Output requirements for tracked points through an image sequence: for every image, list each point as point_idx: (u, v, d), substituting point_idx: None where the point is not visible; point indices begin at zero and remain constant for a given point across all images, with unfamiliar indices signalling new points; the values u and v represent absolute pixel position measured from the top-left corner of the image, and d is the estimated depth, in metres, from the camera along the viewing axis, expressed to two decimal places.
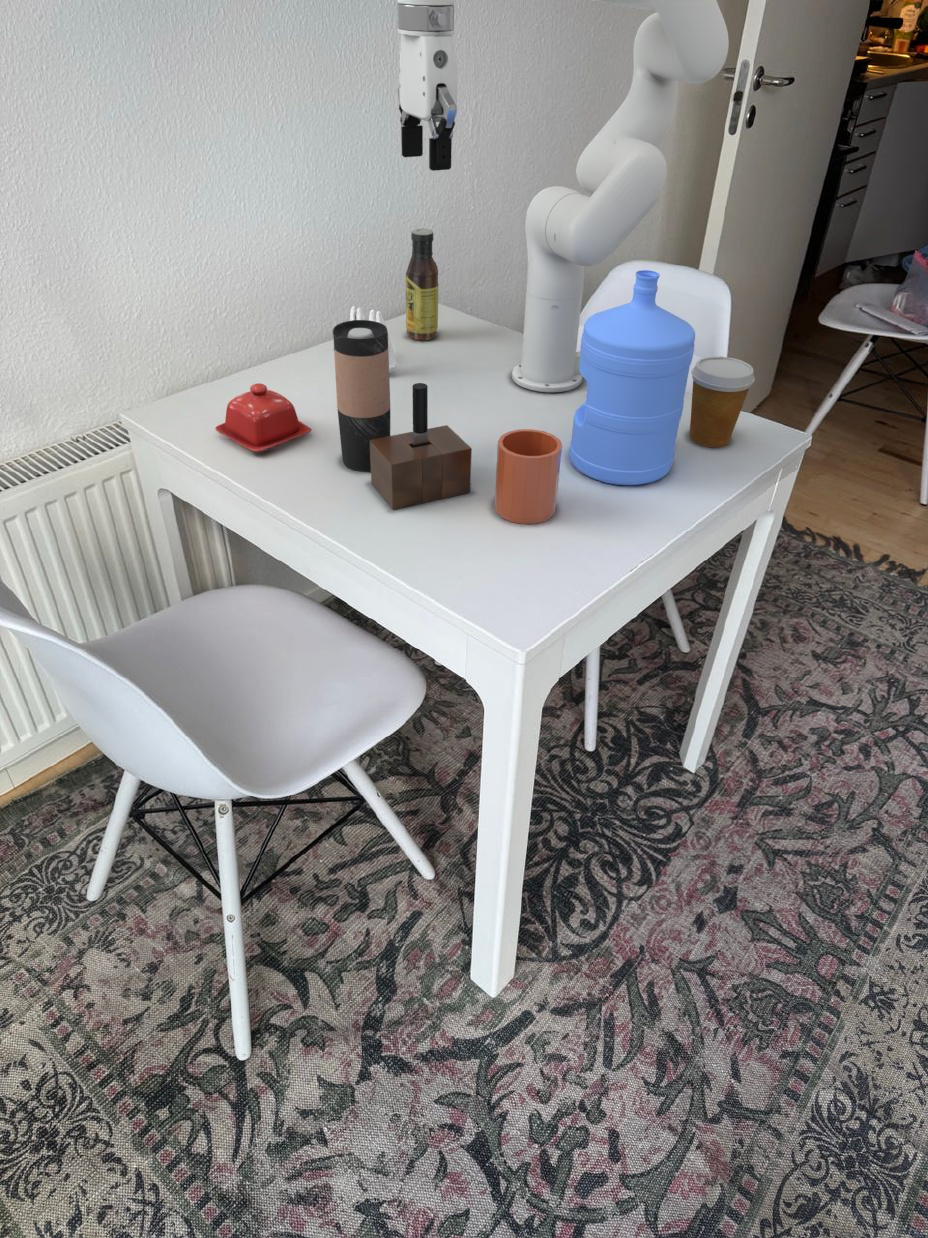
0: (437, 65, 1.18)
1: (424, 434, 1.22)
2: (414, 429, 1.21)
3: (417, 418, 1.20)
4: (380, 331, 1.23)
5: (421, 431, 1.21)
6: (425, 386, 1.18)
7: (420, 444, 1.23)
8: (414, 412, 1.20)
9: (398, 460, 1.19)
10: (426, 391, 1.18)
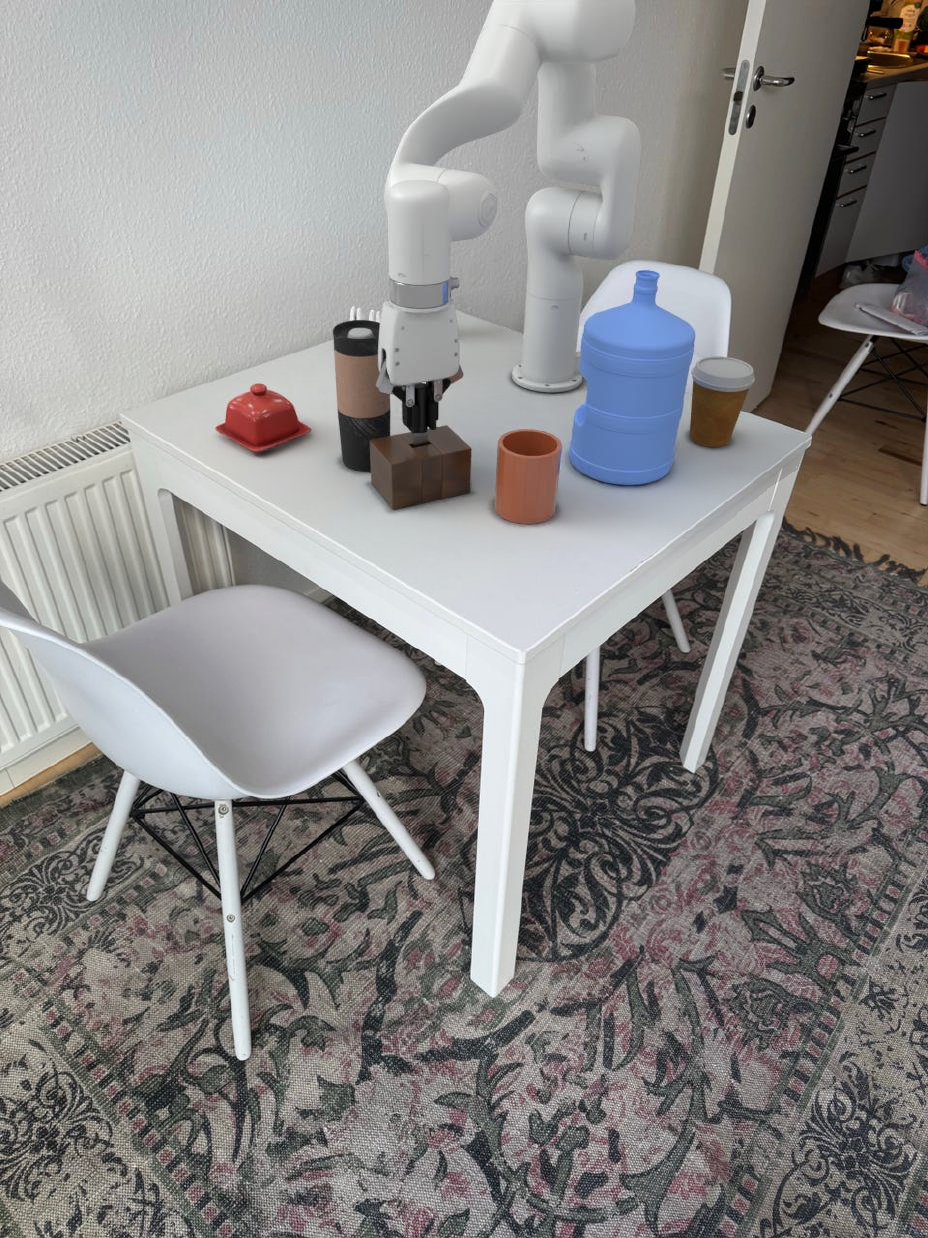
0: None
1: (424, 434, 1.22)
2: None
3: None
4: None
5: (421, 431, 1.21)
6: (425, 386, 1.18)
7: (420, 444, 1.23)
8: None
9: (398, 460, 1.19)
10: (426, 391, 1.18)
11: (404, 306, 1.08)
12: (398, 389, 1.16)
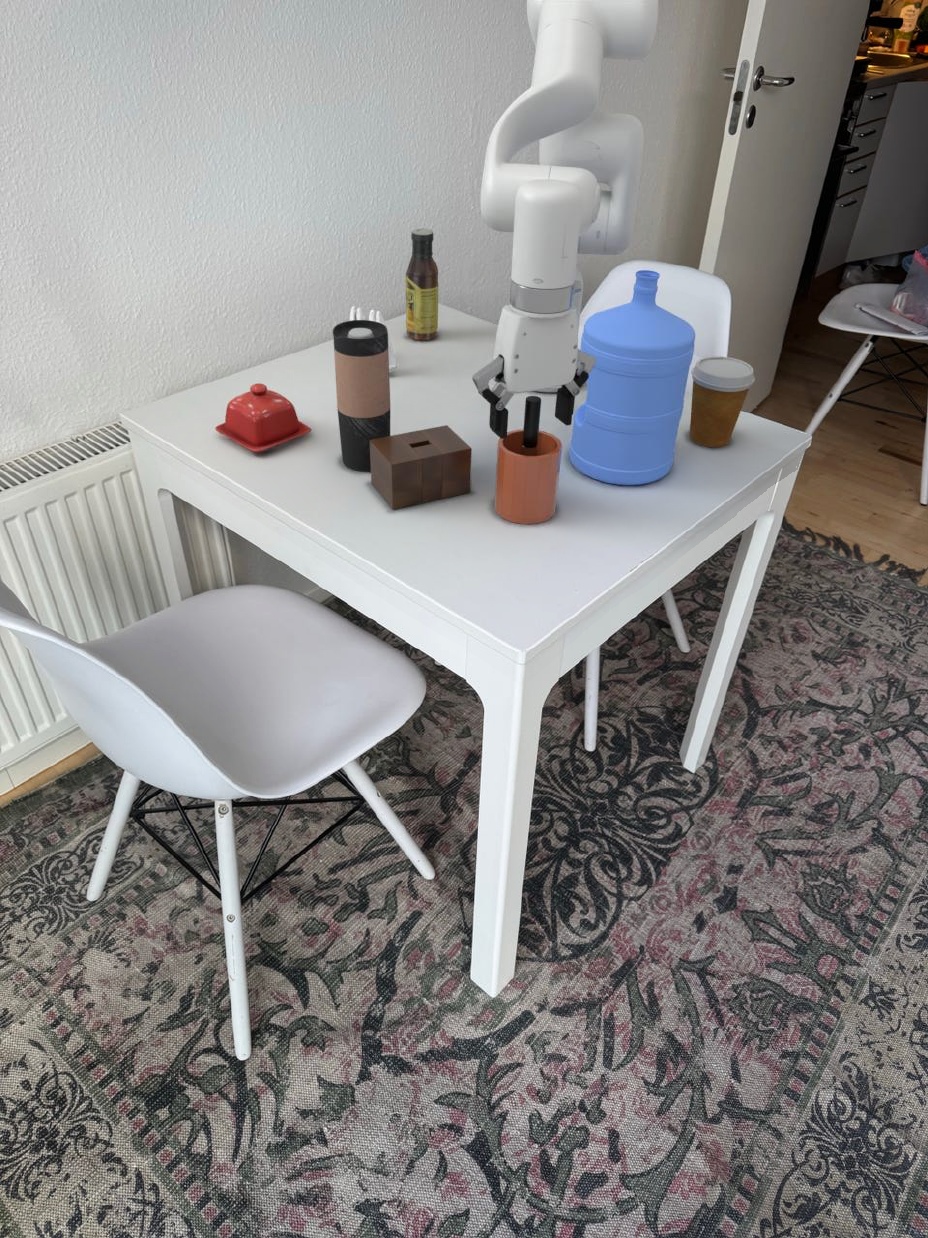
0: None
1: (533, 448, 1.18)
2: (524, 443, 1.17)
3: (529, 432, 1.16)
4: (380, 331, 1.23)
5: (532, 445, 1.17)
6: (539, 399, 1.14)
7: None
8: (526, 426, 1.15)
9: (398, 460, 1.19)
10: (540, 404, 1.14)
11: (528, 311, 1.04)
12: (489, 392, 1.09)
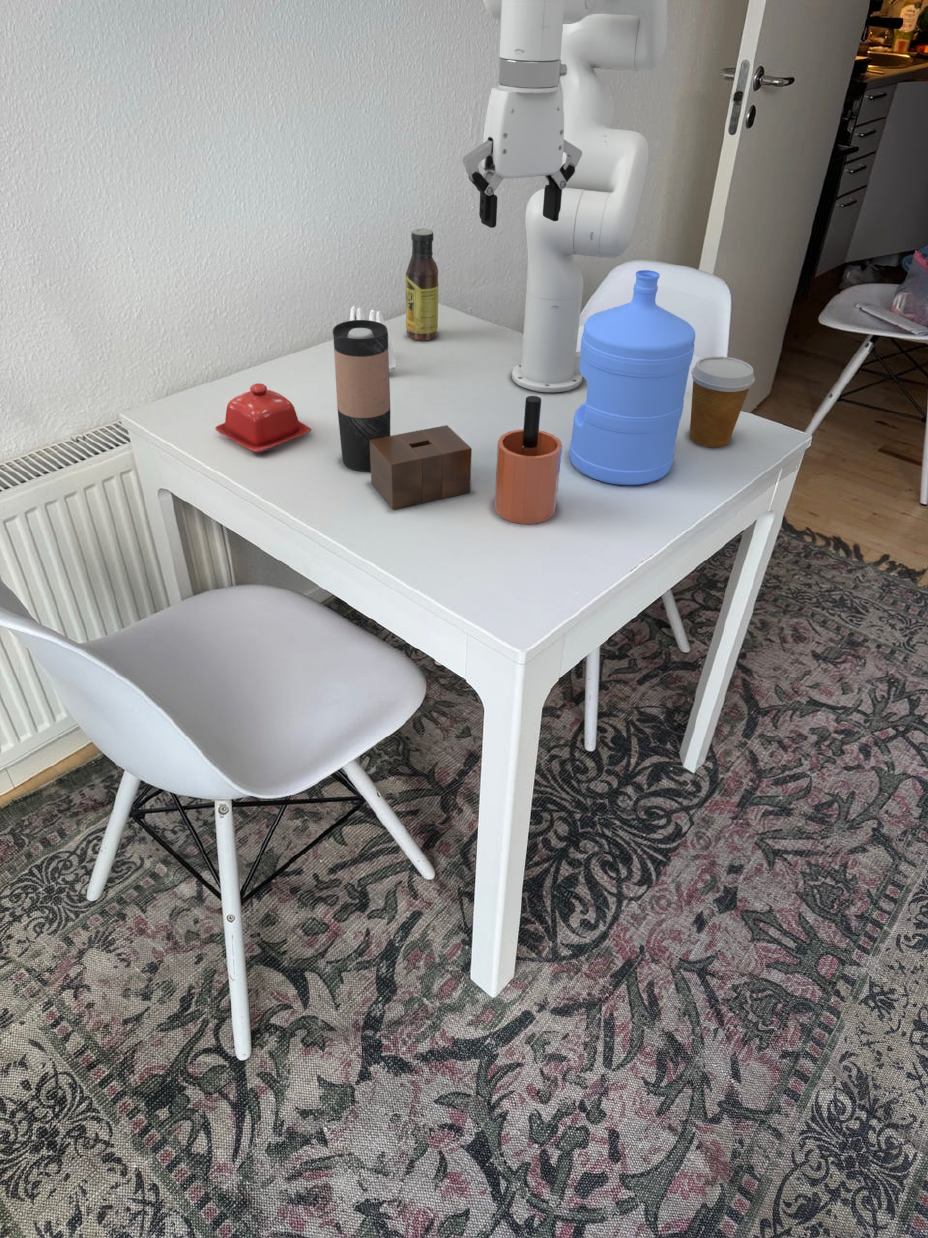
0: None
1: (533, 448, 1.18)
2: (524, 443, 1.17)
3: (529, 432, 1.16)
4: (380, 331, 1.23)
5: (532, 445, 1.17)
6: (539, 399, 1.14)
7: None
8: (526, 426, 1.15)
9: (398, 460, 1.19)
10: (540, 404, 1.14)
11: (515, 86, 1.08)
12: (478, 174, 1.14)
